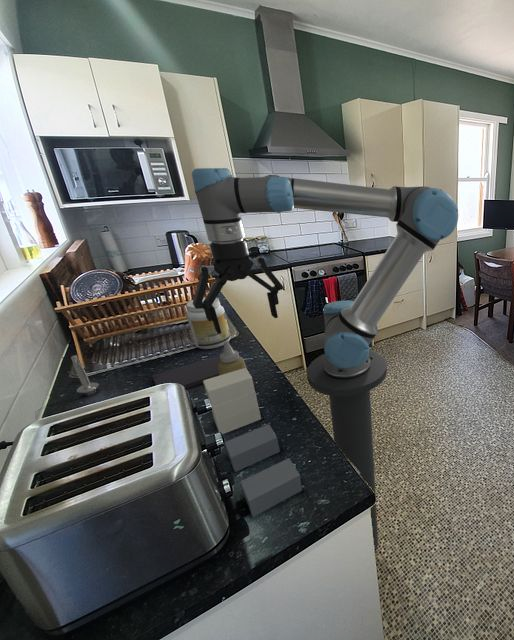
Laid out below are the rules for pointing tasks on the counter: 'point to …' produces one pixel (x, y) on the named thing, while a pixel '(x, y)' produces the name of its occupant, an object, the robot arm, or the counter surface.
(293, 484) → the grey beveled block
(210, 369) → the notebook
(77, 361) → the screw
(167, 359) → the counter surface
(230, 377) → the tan rectangular block
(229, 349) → the squeeze bottle
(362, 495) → the counter surface
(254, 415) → the beige rectangular block
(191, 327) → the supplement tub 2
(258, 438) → the grey block
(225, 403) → the beige block
